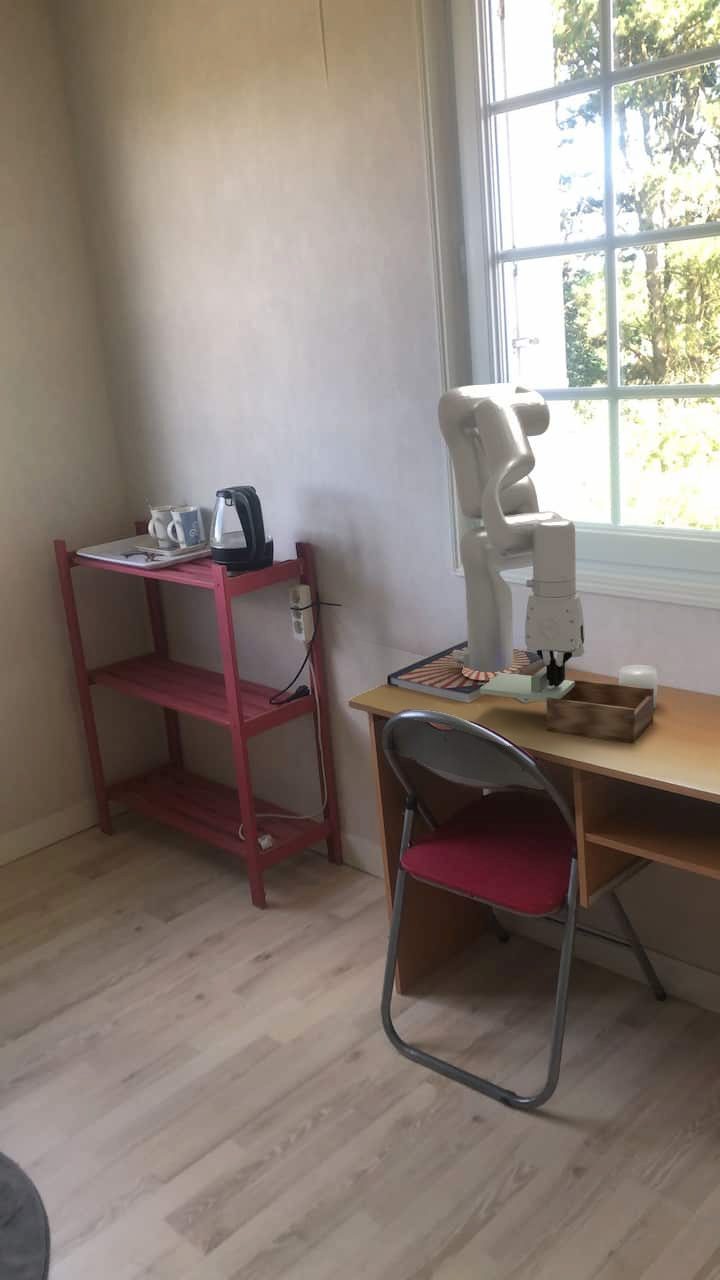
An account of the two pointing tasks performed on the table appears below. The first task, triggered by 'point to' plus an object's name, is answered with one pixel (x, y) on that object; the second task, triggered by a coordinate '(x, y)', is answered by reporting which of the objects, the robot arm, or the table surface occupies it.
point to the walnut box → (602, 711)
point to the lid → (526, 686)
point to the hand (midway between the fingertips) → (555, 684)
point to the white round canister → (639, 677)
